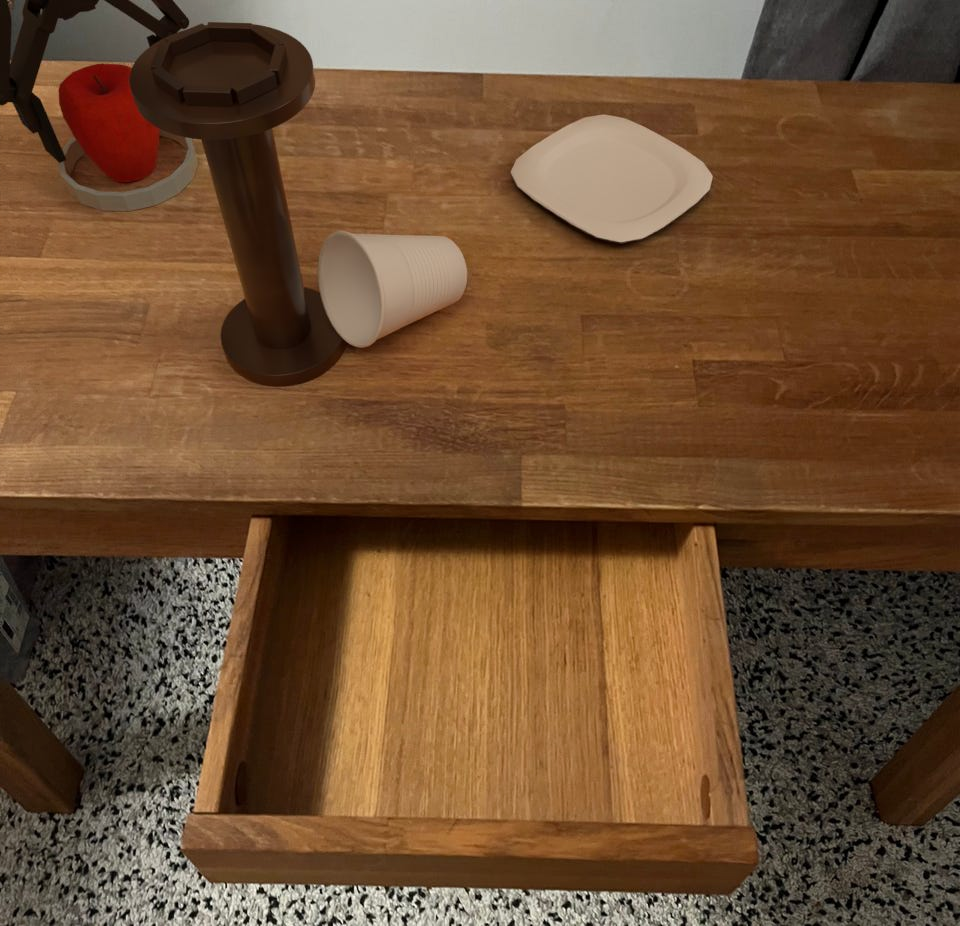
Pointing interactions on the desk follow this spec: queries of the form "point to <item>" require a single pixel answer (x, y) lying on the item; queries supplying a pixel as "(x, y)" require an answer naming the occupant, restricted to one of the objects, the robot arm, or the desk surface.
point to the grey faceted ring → (133, 197)
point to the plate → (612, 178)
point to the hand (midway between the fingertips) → (117, 127)
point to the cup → (386, 281)
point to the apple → (109, 121)
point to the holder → (246, 182)
